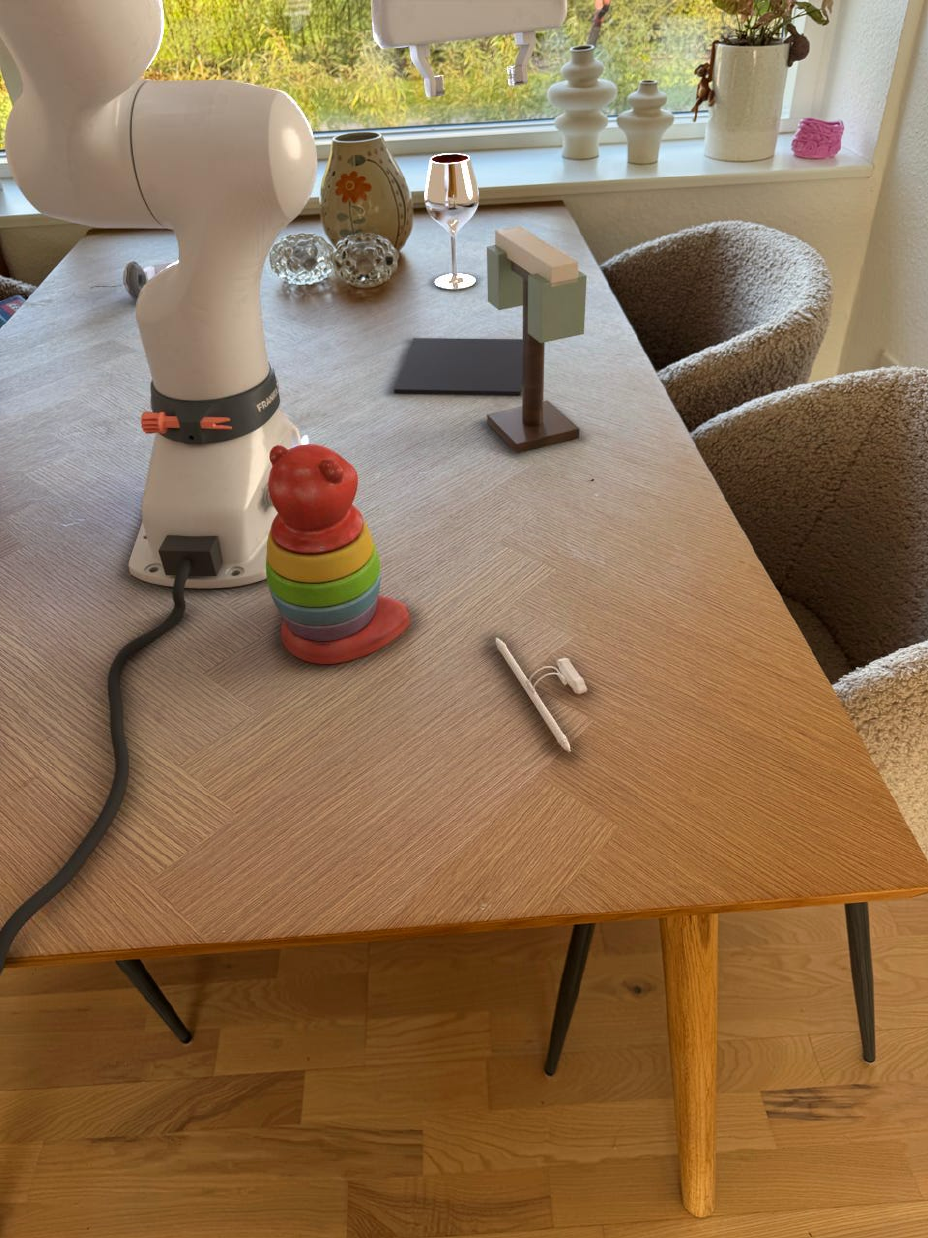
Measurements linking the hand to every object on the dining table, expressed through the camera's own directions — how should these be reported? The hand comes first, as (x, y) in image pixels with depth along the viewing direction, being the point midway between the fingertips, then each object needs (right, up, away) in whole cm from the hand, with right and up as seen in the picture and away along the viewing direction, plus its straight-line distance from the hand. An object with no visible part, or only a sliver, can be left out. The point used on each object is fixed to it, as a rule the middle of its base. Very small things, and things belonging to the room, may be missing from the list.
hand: (477, 90), depth 96 cm
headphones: (-48, -3, +51) cm, 70 cm away
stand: (+7, -33, +11) cm, 36 cm away
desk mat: (-1, -22, +25) cm, 34 cm away
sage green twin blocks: (+6, -23, +3) cm, 24 cm away
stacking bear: (-13, -56, -15) cm, 59 cm away
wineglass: (-3, -2, +50) cm, 50 cm away
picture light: (+6, -61, -22) cm, 65 cm away
